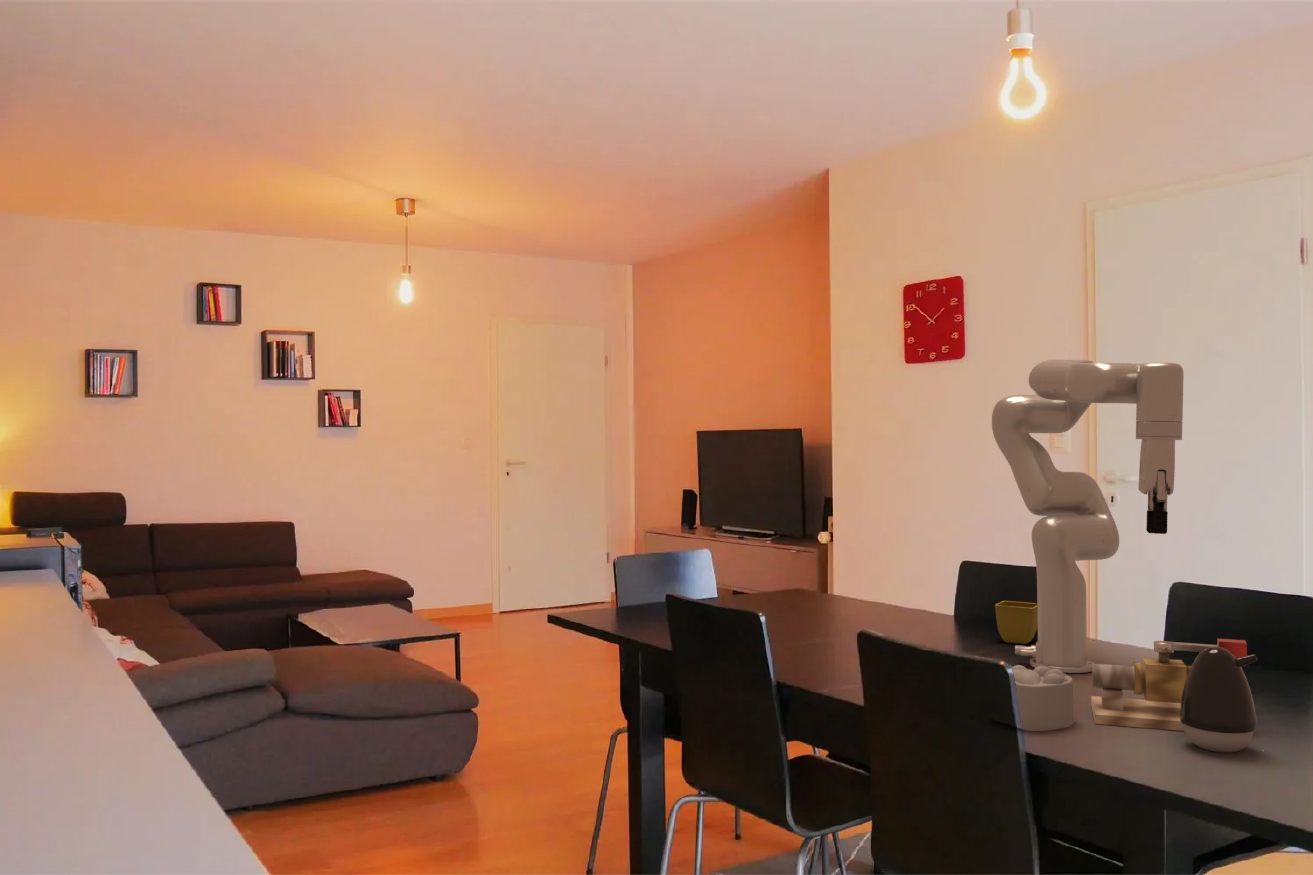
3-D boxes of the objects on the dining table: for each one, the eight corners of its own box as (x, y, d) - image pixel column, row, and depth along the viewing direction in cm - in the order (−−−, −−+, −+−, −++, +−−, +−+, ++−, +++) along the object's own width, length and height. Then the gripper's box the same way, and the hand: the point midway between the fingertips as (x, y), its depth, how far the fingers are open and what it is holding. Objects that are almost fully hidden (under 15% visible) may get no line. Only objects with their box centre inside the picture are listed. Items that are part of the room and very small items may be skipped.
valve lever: (1154, 652, 172) (1153, 637, 172) (1153, 649, 175) (1153, 634, 175) (1247, 658, 166) (1246, 643, 166) (1245, 655, 169) (1244, 640, 169)
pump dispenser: (1263, 760, 149) (1262, 655, 149) (1182, 752, 153) (1181, 650, 153) (1253, 742, 159) (1252, 643, 159) (1177, 735, 163) (1176, 638, 163)
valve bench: (1095, 723, 170) (1094, 656, 170) (1091, 704, 183) (1090, 641, 183) (1247, 735, 162) (1246, 665, 162) (1231, 714, 175) (1230, 649, 176)
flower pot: (1041, 641, 245) (1041, 603, 245) (1033, 646, 238) (1033, 607, 238) (1003, 637, 250) (1003, 600, 250) (994, 643, 242) (994, 604, 243)
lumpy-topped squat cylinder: (984, 718, 174) (984, 666, 174) (1041, 709, 179) (1041, 659, 180) (1032, 733, 164) (1032, 678, 164) (1090, 723, 170) (1090, 671, 170)
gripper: (1131, 430, 194) (1129, 527, 195) (1140, 432, 180) (1138, 536, 181) (1175, 431, 192) (1173, 529, 192) (1188, 432, 178) (1186, 538, 178)
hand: (1156, 532), depth 186 cm, fingers closed
